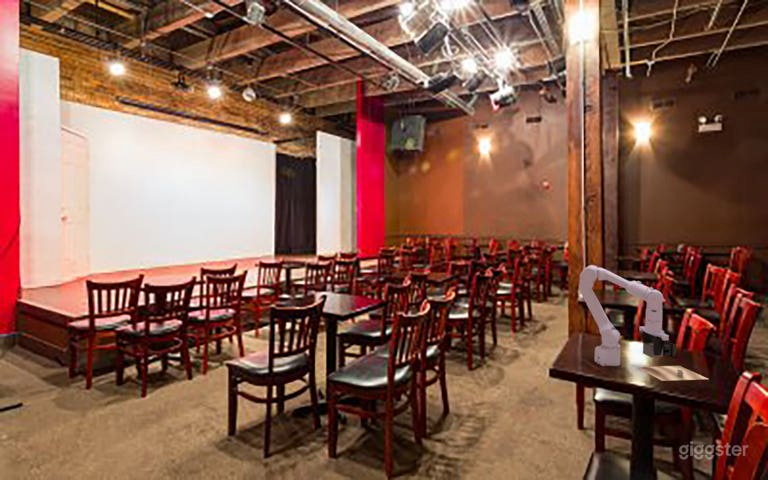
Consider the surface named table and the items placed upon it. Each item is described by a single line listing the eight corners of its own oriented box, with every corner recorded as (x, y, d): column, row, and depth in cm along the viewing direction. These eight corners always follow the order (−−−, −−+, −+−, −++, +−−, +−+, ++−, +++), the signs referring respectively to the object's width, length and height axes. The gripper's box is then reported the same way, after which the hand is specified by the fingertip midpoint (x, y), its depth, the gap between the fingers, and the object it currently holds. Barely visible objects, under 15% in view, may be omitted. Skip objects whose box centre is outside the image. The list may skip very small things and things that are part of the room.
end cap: (676, 357, 197) (677, 343, 196) (666, 359, 194) (667, 344, 193) (655, 351, 206) (656, 337, 205) (645, 353, 203) (645, 339, 203)
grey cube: (651, 357, 174) (651, 345, 174) (642, 353, 179) (643, 342, 179) (662, 357, 174) (663, 345, 174) (654, 353, 179) (654, 342, 179)
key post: (683, 377, 168) (683, 372, 168) (678, 377, 169) (678, 372, 168) (681, 374, 171) (681, 369, 171) (677, 374, 171) (677, 369, 171)
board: (662, 384, 165) (662, 380, 165) (636, 370, 180) (636, 367, 180) (708, 382, 166) (708, 379, 166) (679, 369, 181) (679, 365, 181)
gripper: (676, 324, 169) (675, 358, 169) (650, 315, 183) (649, 347, 184) (659, 324, 168) (658, 358, 169) (635, 316, 183) (634, 347, 183)
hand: (652, 352), depth 176 cm, fingers closed on grey cube, 5 cm apart
